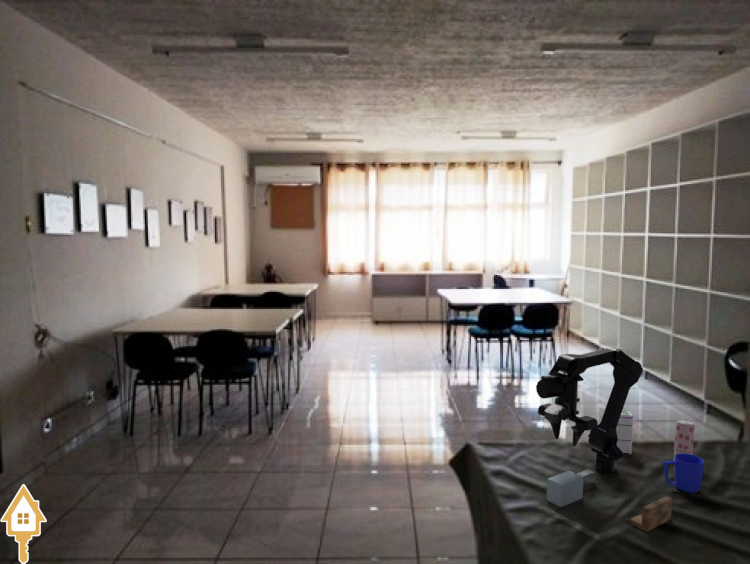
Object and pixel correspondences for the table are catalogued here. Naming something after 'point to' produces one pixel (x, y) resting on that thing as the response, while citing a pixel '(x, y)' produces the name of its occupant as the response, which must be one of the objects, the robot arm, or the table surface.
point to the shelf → (653, 514)
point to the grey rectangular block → (587, 477)
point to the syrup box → (625, 432)
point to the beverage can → (684, 437)
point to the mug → (686, 472)
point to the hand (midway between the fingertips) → (565, 442)
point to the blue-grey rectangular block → (564, 488)
